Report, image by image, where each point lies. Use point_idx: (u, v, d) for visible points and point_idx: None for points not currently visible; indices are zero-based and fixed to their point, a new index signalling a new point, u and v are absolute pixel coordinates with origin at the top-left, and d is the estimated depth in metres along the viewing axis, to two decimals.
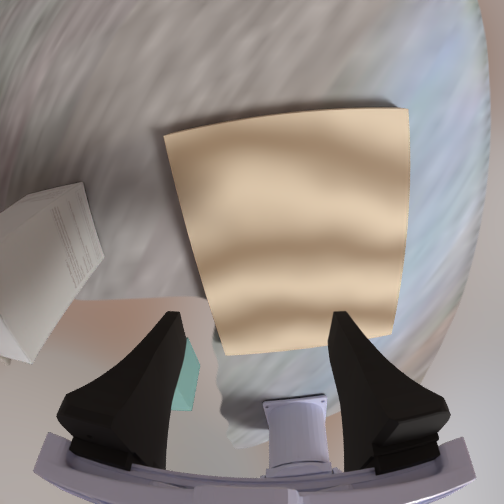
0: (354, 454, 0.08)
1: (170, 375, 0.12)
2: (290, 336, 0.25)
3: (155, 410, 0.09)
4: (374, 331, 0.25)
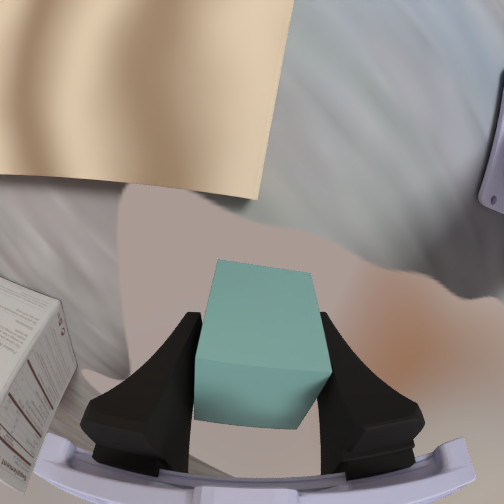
0: (328, 457, 0.08)
1: (192, 377, 0.12)
2: (232, 26, 0.08)
3: (180, 413, 0.09)
4: None
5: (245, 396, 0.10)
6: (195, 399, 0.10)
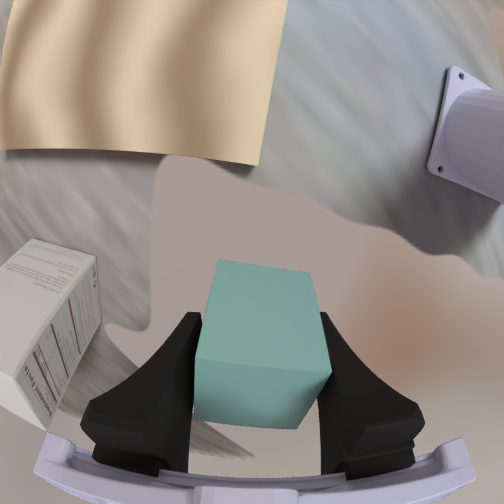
0: (328, 457, 0.08)
1: (192, 377, 0.12)
2: (241, 52, 0.13)
3: (180, 413, 0.09)
4: None
5: (245, 396, 0.10)
6: (195, 399, 0.10)
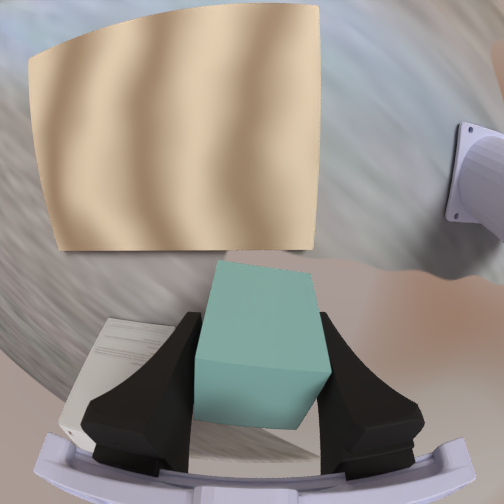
0: (328, 457, 0.08)
1: (192, 377, 0.12)
2: (288, 157, 0.17)
3: (180, 413, 0.09)
4: (304, 31, 0.13)
5: (245, 396, 0.10)
6: (195, 399, 0.10)
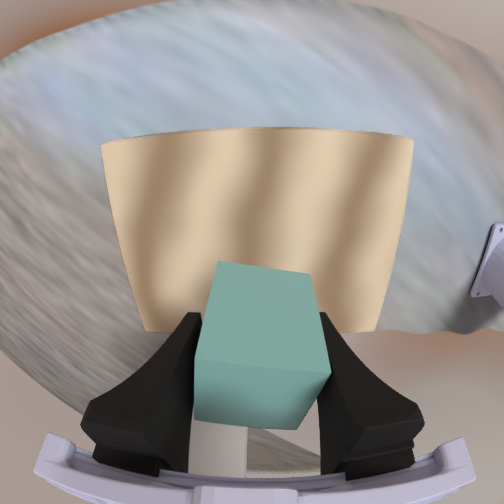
0: (328, 458, 0.08)
1: (192, 377, 0.12)
2: (369, 271, 0.20)
3: (180, 413, 0.09)
4: (399, 166, 0.17)
5: (244, 397, 0.10)
6: (195, 399, 0.10)
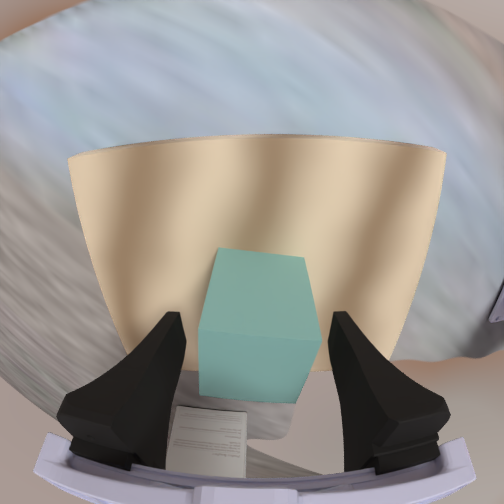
0: (354, 454, 0.08)
1: (170, 375, 0.12)
2: (386, 305, 0.17)
3: (155, 410, 0.09)
4: (429, 184, 0.13)
5: (244, 368, 0.11)
6: (199, 373, 0.11)
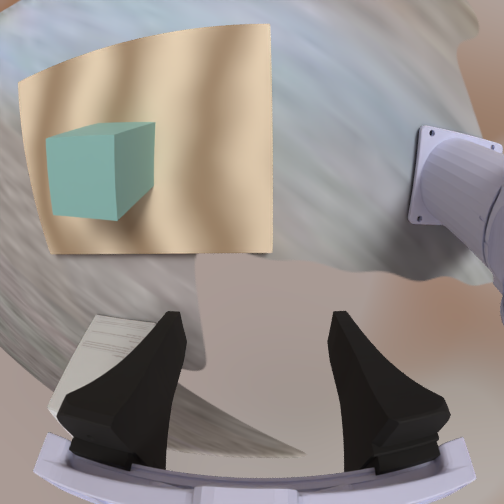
0: (353, 454, 0.08)
1: (170, 375, 0.12)
2: (243, 169, 0.19)
3: (155, 410, 0.09)
4: (256, 50, 0.15)
5: (72, 172, 0.13)
6: (49, 184, 0.13)
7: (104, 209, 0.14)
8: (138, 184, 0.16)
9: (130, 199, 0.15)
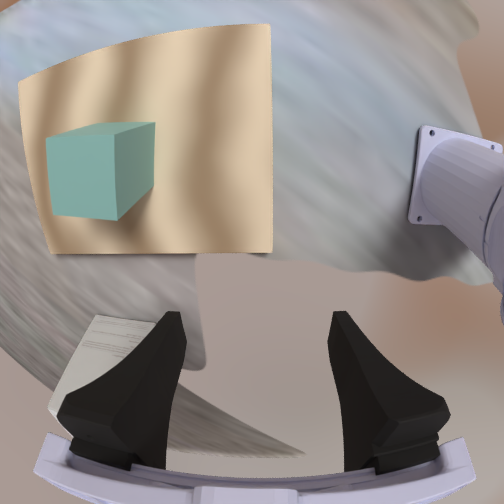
0: (354, 454, 0.08)
1: (170, 375, 0.12)
2: (243, 168, 0.19)
3: (155, 410, 0.09)
4: (256, 50, 0.15)
5: (72, 172, 0.13)
6: (49, 184, 0.13)
7: (104, 209, 0.14)
8: (138, 184, 0.16)
9: (130, 198, 0.15)
